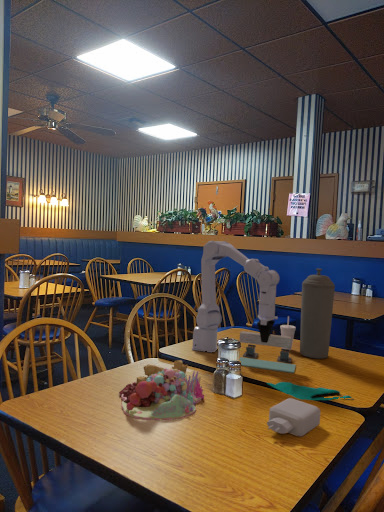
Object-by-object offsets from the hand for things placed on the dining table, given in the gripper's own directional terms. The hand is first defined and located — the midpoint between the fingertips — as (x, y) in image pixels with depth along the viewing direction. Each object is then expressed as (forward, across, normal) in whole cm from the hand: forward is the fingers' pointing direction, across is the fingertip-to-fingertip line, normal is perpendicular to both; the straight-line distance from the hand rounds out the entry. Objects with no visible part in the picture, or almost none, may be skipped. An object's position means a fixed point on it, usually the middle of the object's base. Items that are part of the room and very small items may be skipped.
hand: (265, 341), depth 147 cm
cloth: (+10, -21, -16) cm, 28 cm away
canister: (+9, +22, -17) cm, 29 cm away
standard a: (+9, +10, +6) cm, 15 cm away
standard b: (+9, +10, -6) cm, 15 cm away
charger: (+9, -47, -12) cm, 50 cm away
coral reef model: (+9, -44, +22) cm, 50 cm away
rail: (+1, 0, 0) cm, 1 cm away
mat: (+9, 0, 0) cm, 9 cm away
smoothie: (+9, +26, -6) cm, 28 cm away
